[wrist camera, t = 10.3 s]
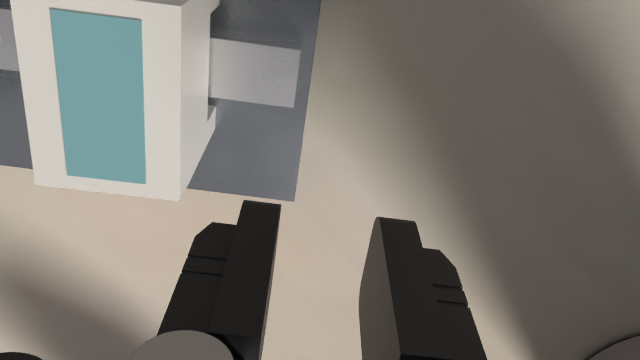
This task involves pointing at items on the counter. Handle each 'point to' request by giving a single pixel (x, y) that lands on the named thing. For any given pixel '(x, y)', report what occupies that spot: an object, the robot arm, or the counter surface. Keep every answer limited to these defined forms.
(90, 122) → the block
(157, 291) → the counter surface
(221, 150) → the rail plate
